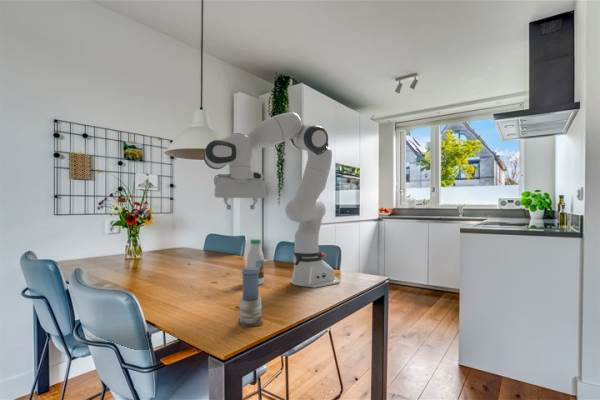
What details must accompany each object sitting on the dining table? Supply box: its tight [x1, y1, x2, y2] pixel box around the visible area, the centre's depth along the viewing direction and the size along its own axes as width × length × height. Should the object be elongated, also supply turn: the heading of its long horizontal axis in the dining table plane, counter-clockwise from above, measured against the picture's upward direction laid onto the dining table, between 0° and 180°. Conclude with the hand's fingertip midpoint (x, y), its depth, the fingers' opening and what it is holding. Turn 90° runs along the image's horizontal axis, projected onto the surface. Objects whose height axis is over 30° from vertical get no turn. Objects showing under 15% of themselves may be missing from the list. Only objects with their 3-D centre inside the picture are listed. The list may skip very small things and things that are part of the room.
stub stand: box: [238, 295, 264, 329], centre depth 93 cm, size 7×7×7 cm
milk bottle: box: [246, 238, 265, 286], centre depth 140 cm, size 8×8×20 cm
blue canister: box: [241, 267, 260, 301], centre depth 93 cm, size 5×5×9 cm
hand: (240, 209), depth 122 cm, fingers open, 8 cm apart
